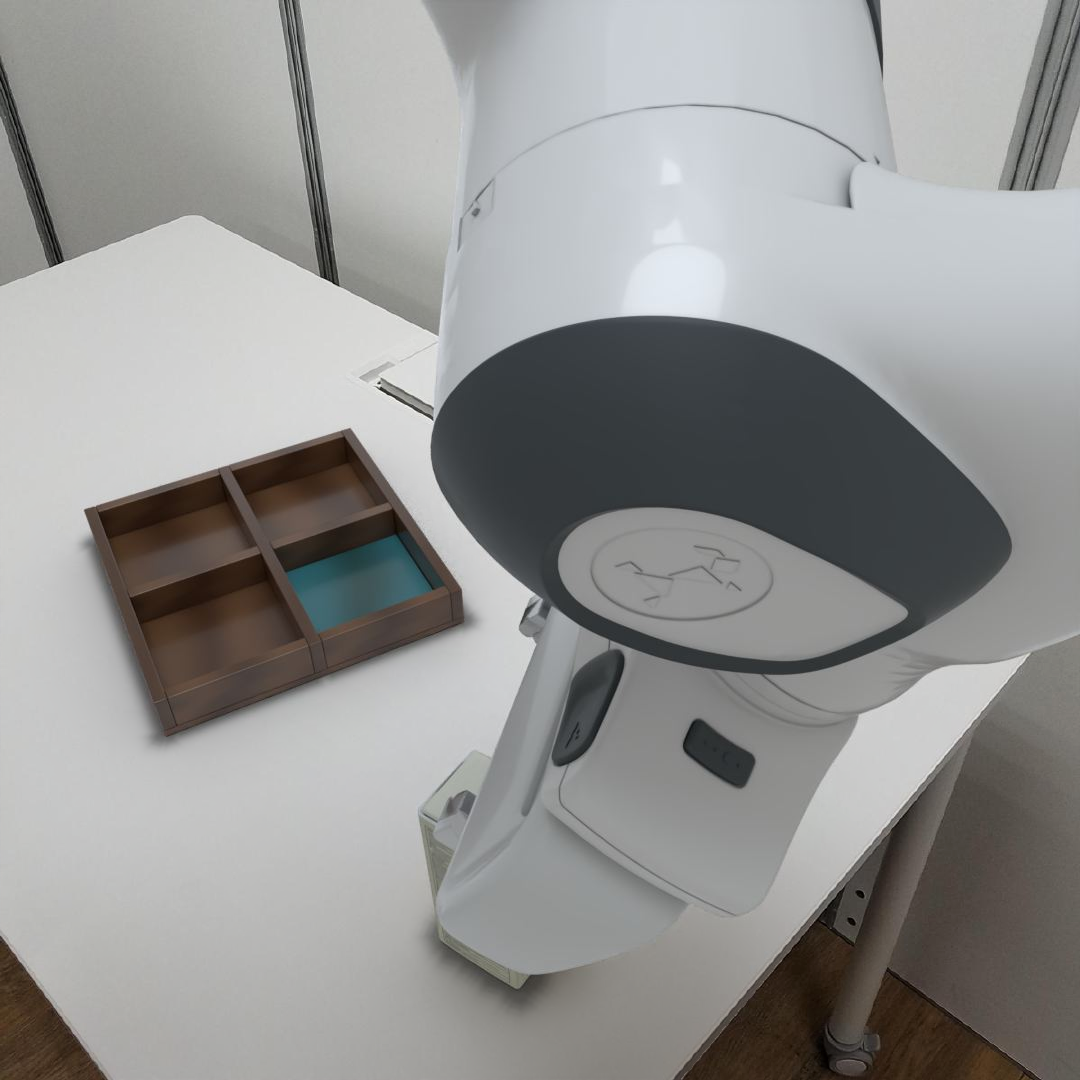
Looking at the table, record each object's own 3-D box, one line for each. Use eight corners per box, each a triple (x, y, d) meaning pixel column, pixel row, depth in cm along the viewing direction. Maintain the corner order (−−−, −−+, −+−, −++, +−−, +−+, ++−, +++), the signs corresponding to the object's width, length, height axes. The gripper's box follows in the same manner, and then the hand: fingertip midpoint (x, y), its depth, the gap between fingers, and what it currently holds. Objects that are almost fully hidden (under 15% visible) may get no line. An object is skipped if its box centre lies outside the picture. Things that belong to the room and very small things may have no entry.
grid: (165, 736, 65) (153, 703, 63) (95, 541, 78) (83, 508, 76) (464, 621, 72) (462, 588, 70) (355, 459, 85) (350, 427, 83)
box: (566, 926, 56) (569, 798, 49) (517, 994, 54) (512, 870, 46) (482, 874, 59) (473, 743, 51) (431, 937, 56) (413, 810, 49)
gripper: (730, 315, 38) (520, 486, 49) (548, 852, 26) (318, 928, 36) (860, 422, 40) (630, 565, 50) (747, 974, 28) (473, 1013, 38)
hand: (498, 721), depth 43 cm, fingers open, 8 cm apart
